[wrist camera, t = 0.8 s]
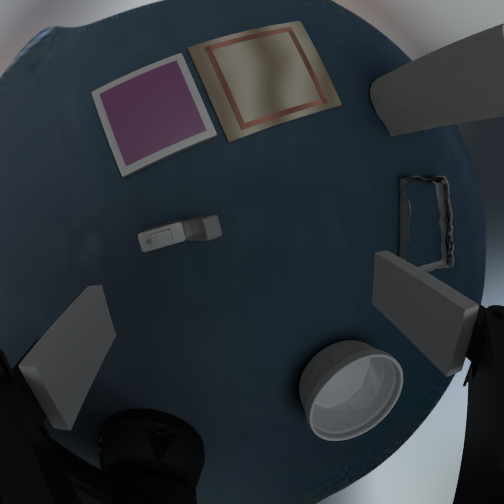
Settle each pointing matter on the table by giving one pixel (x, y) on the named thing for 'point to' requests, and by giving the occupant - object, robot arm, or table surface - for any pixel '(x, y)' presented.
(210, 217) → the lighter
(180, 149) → the ink pad
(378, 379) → the ramekin
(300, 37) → the marked board
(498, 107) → the paper towel roll
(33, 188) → the table surface
